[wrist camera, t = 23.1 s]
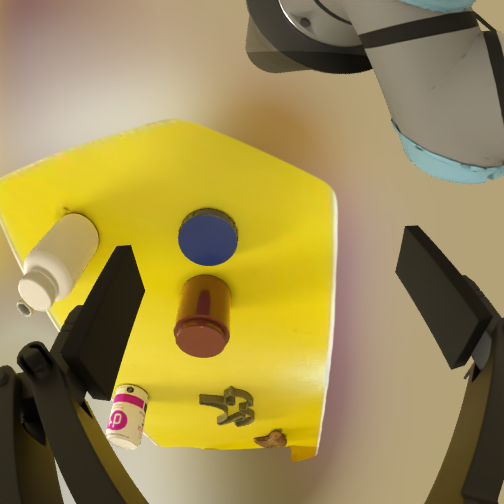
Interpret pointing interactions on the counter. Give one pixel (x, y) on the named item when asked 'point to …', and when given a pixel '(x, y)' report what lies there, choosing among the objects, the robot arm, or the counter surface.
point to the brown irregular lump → (272, 440)
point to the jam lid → (208, 237)
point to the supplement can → (127, 417)
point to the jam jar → (203, 316)
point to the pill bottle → (58, 261)
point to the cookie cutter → (230, 400)
